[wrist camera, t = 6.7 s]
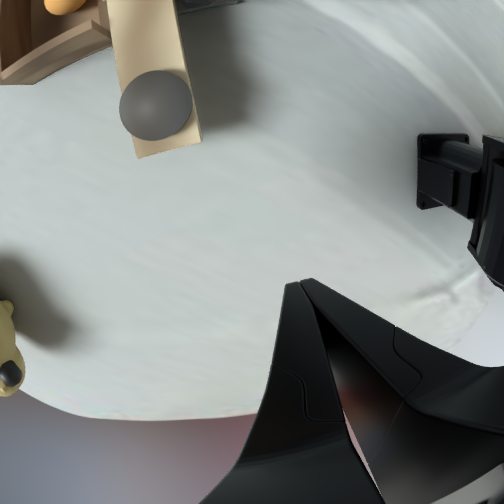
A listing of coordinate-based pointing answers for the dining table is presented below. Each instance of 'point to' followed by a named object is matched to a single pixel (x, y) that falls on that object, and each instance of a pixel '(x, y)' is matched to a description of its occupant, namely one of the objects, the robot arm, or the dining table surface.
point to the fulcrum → (200, 4)
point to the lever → (153, 76)
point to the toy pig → (9, 353)
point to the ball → (63, 6)
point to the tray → (47, 38)
